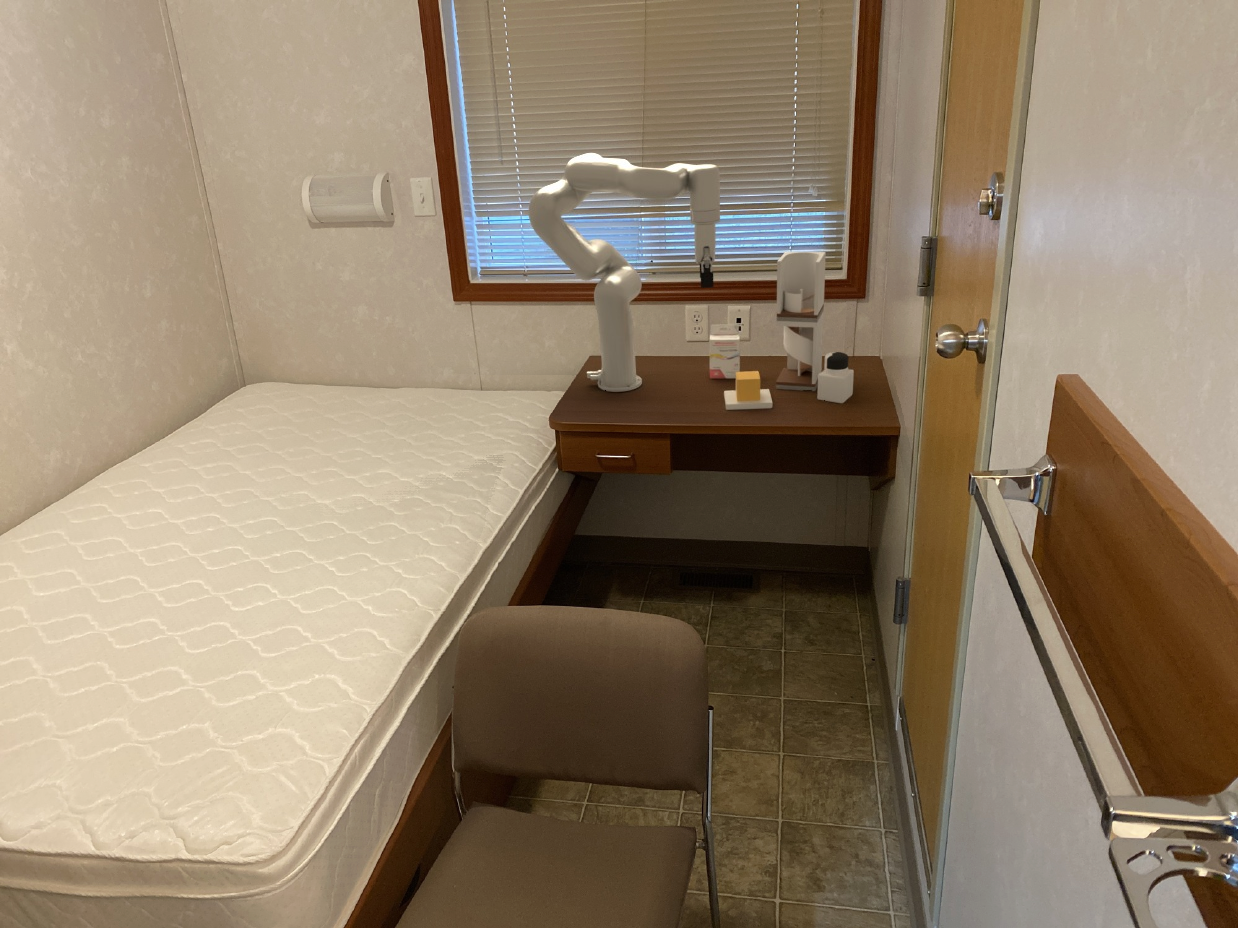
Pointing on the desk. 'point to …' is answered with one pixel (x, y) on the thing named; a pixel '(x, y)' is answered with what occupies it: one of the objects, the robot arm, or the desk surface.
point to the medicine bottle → (835, 379)
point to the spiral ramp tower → (801, 317)
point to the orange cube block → (748, 386)
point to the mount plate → (733, 404)
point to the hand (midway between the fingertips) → (706, 282)
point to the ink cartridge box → (724, 351)
